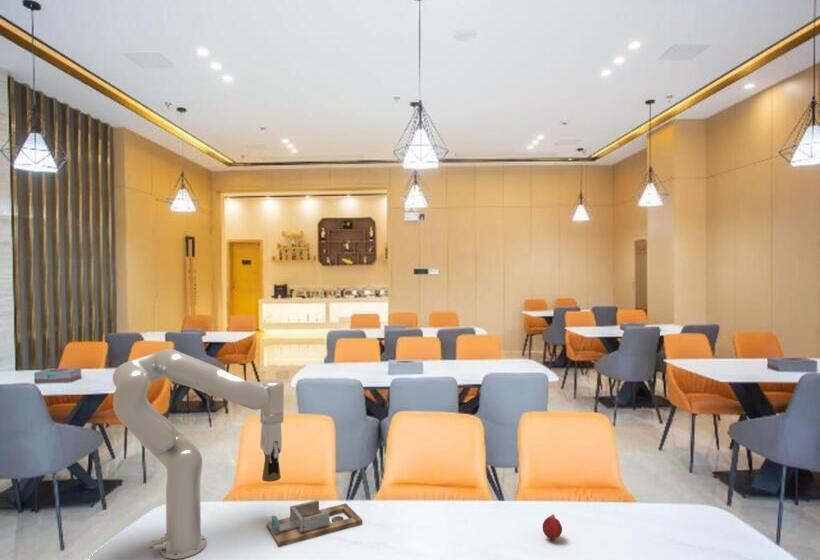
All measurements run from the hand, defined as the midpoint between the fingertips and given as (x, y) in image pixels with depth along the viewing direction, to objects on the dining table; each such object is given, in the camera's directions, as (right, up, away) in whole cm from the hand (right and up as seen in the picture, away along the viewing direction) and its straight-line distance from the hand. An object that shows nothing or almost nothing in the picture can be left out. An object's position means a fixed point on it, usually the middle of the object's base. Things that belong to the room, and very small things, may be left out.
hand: (271, 471), depth 170 cm
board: (+15, -17, -4) cm, 23 cm away
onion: (+91, -17, -13) cm, 94 cm away
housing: (+11, -15, -6) cm, 19 cm away
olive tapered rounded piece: (0, -2, 0) cm, 2 cm away
